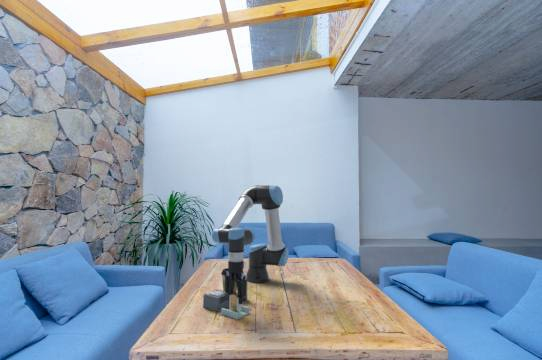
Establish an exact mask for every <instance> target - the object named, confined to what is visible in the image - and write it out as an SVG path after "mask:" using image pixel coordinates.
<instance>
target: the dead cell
mask: <svg viewBox="0 0 542 360" xmlns="http://www.w3.org/2000/svg"><path fill="white" fill-rule="evenodd" d="M247 301H248V290H247V291H246V296H243V302H247Z"/></svg>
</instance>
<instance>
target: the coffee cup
mask: <svg viewBox="0 0 542 360" xmlns="http://www.w3.org/2000/svg"><path fill="white" fill-rule="evenodd" d="M227 271H229V268H228V267H226V268H223V269H222V271H221V275H222V276H221V277H222V280H221V281H222V288H223V289H222V291H225V275H224V272H227ZM233 292H238V291H237V284H236V282H235V284H234V290H233Z"/></svg>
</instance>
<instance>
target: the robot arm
mask: <svg viewBox="0 0 542 360" xmlns="http://www.w3.org/2000/svg"><path fill="white" fill-rule="evenodd" d="M283 194H284V193H283V190H282V188H281V187H280V186H278V185H273V184H272V185H259V184H257V185H253V186H251V187H248V188H247V189H245V191H244V190H243V192H242V193H241V194H240V196H238V202H237V203H236V204H235V206H234V207H233V209H232V211H231V212H230V213H229V215H228V217H227V218H226V220H225V221H224V222H223V224H222V225H221V226H220V227H218V228H214V229H213V231H212V233H211V239H212V241H213V243H217V244H228V256H227V257H228V261H227V268H229V271H227V272H224V275H225V292H226V293H228V295H229V307H228V308H229V309H228V310H230V309H231V293H234V292H233V290H234V284H235V282H236V284H237V291H236V292H237V293H238V297H237V311H240V310H242V305H243V303H244V301H243V296H246V291H247V292H248V282H249V283H255V284H257V283H258V284H259V283H265V282H268V281H269V280H270V278H269V277H270V275H269V272H268V270H267V269H268V268H267V266H273V267H274V266H277V267H285V266H286V265H287V262H288V260H289V255H290V254H289V253H290V250H289V248H288V247H286V245H285V243H284V242H283V237H282V232H281V231H282V230H281V229H282V228H281V220H280V212H279V209H280V207H281V205H282V204H283V201H284V195H283ZM254 205H261V209H262V210H264V215H265V222H266V232H267V239H268V244H267V243H257V244H252V243H253V242H254V241H255V240H256V234H255V232H254V230H252V229H251V228H250V229H247V228H246V229H244V228H242V227H239V226H240V223H241V222H242V221H243V219H244V217H245V215H246V214H247V212H248V210H249V209H251V208H252V207H253V206H254ZM250 244H252V245H250ZM247 245H250V246H249V250H248V270H247V273H246V274H245V272H244V267H245V261H244V260H245V246H247Z"/></svg>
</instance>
